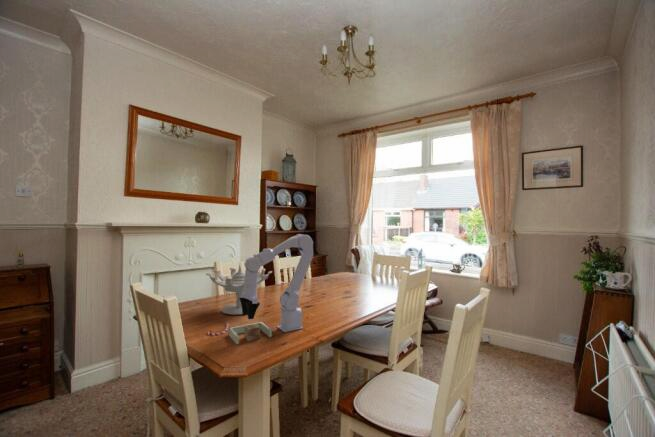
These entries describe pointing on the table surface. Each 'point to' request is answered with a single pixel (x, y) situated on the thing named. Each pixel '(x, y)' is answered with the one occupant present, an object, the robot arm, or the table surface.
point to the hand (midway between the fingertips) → (247, 316)
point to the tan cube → (252, 332)
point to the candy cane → (218, 333)
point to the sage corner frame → (241, 329)
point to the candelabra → (235, 287)
